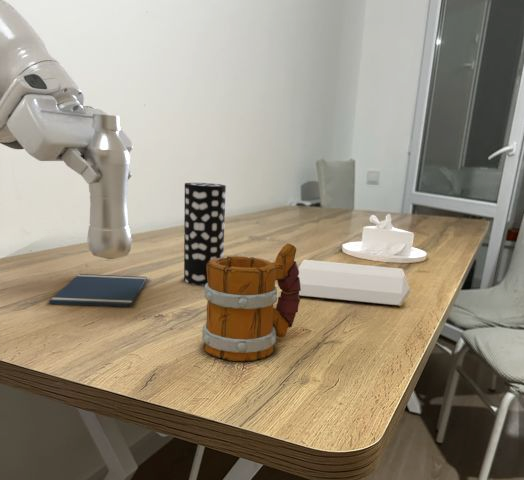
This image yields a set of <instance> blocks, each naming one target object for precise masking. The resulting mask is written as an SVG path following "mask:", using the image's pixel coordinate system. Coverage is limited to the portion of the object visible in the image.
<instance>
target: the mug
mask: <svg viewBox="0 0 524 480" xmlns="http://www.w3.org/2000/svg"><path fill="white" fill-rule="evenodd" d="M296 253H297V247H296V246H295V245H293V244H292V243H286V244H285V245H283V246H282V248H281V249H280V250H279V252H278V253H277V255H276V257H275V260H274V262H271V261H269V260H267V259H263V258H260V257H255V256H251V257H248V256H241V255H230V256H229V255H228V256H227V257H224V256H223V258H216V259H212V260H210V261H208V263H207V264H206V269H207V280H208V283H206V284H205V286H204V299H205V300H206V301H207V304H206V322H205V323H204V324H203V326H202V331H201V333H202V334H201V338H202V341H203V350H204V352H206V353H207V354H209V355H210V356H212V357H215V358H217V359H223V360H225V361H231V362H246V361H248V362H254V361H257V360H262V359H264V358H266V357H269V356H271V355H272V354H273V352H274V345H275V344H276V341H277V339H276V337H278V338H285V337H286V335H287V331H288V330H289V328H292V327H293V325H294V321H295V318H296V315H297V313H298V312H299V305H300V302H301V298H300V296H299V291H301V287H300V279H299V277H298V275H299V270H298V267H299V266H298V264H297V261H295V257H296ZM276 282H277V285H278V287H279V289H280V290H281V291H280V296H278V287H276V286H275V285H276ZM276 302H277V304H276ZM274 304H276V306H275V307H274Z"/></svg>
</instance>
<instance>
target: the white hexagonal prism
mask: <svg viewBox="0 0 524 480" xmlns="http://www.w3.org/2000/svg"><path fill="white" fill-rule="evenodd" d="M298 270H299V275H298V277H299V279H300V287H301V291H299V297H307V298H318V299H326V300H338V301H348V302H355V303H367V304H377V305H385V306H386V305H387V306H396V307H397V306H398V307H401V306H402V305H403V303H404V302H405V301H406V300H407V298H408V297H409V295H410V294H411V293H410V292H411V288H410V286H409V283H408V280H407V277H406V274H405V272H404V268H400V267H389V266H379V265H367V264H366V265H365V264H357V263H356V264H355V263H346V262H345V263H344V262H335V261H323V260H313V259H303V260H302V262H301V263H300V264H299V266H298Z"/></svg>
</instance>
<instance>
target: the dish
mask: <svg viewBox="0 0 524 480" xmlns="http://www.w3.org/2000/svg"><path fill="white" fill-rule="evenodd" d="M392 219H393V218H392V215H391V213H387V214H386V215H385V219H384V220H381V221H380V220H379V219H378V217H377V216H376V215H375V214H371V215H370V216H369V219H368V220H369V222H370V223H372V224H374V225H368V226H363V227H362V235H361V241H352V242H345V243H343V244H342V248H341V252H343V253H344V254H346V255H348V256H351V257H355V258H357V259H363V260H369V261H375V262H383V263H397V264H398V263H399V264H407V263H408V264H409V263H410V264H411V263H419V262H424V261H425V260H426V259H428V258H427V257H428V253H427V252H426V251H425V250H423V249H420V248H417V247H413V242H414V237H415V233H414V232H412V231H408V230H404V229H400V228H397V227H394V225H393V224H392Z"/></svg>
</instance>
